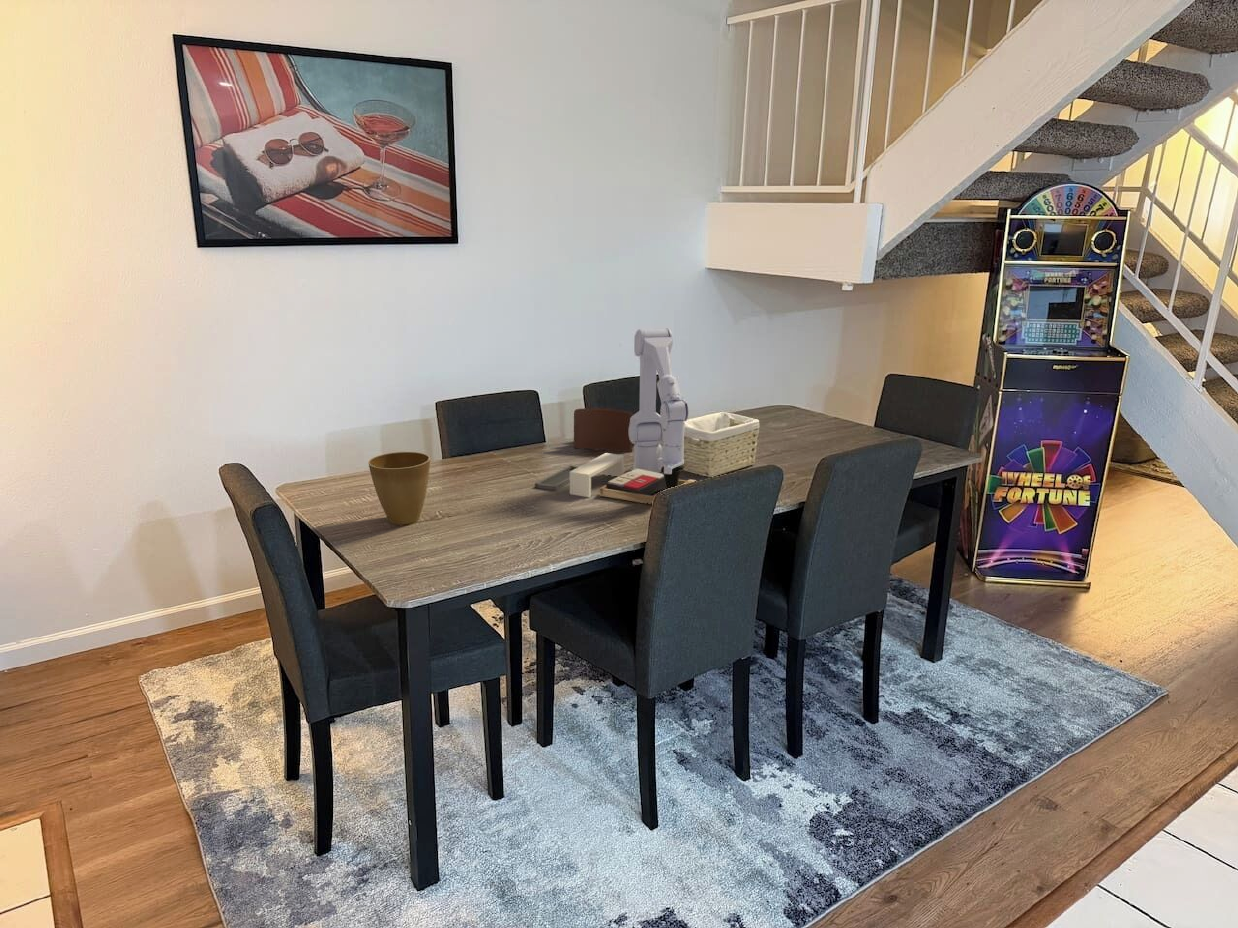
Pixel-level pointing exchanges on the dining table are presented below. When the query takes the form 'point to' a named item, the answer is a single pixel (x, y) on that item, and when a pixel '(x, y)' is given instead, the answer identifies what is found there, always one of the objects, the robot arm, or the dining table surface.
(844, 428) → the dining table surface
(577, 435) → the letter holder
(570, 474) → the tunnel
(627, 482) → the calculator
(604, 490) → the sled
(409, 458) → the plant pot
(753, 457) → the storage basket
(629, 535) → the dining table surface
